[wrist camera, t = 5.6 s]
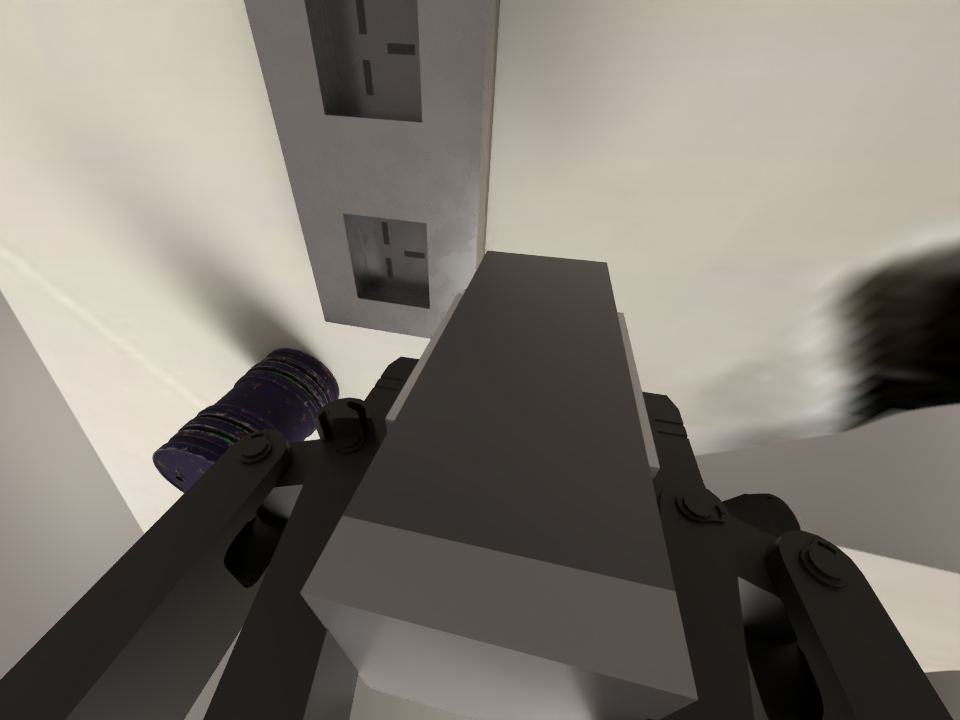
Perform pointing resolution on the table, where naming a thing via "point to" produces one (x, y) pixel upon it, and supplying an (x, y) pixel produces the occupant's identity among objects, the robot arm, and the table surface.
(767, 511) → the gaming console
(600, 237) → the table surface
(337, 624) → the plug
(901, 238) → the table surface
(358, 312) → the socket board
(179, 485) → the storage jar
